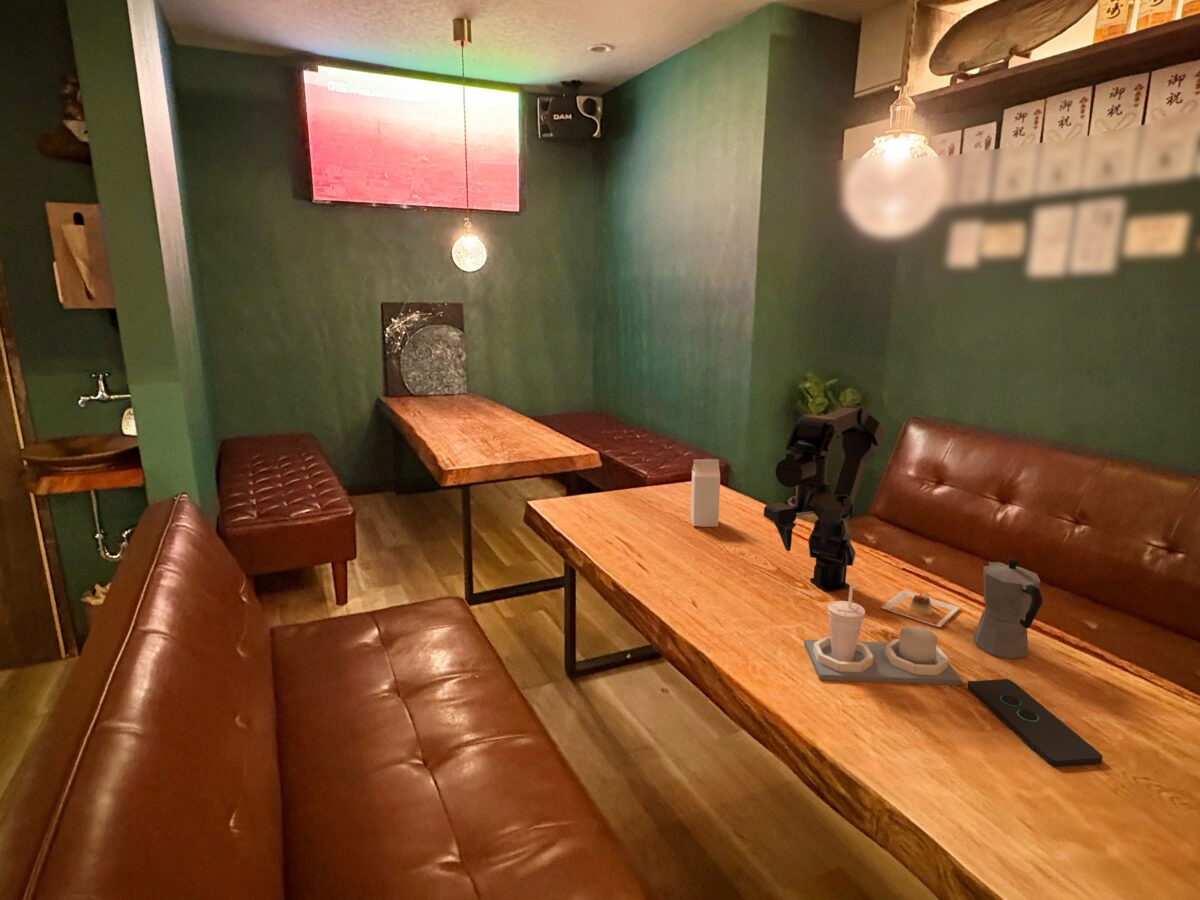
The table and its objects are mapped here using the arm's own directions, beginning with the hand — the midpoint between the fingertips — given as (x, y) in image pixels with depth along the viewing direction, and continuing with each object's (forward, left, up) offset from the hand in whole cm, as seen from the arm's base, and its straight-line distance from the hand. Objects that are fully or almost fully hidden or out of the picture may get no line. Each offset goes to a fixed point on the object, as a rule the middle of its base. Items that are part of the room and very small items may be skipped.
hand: (806, 547), depth 142 cm
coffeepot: (-24, +29, -13) cm, 40 cm away
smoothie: (+7, +22, -12) cm, 26 cm away
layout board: (+2, +25, -13) cm, 28 cm away
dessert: (-22, +11, -14) cm, 28 cm away
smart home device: (-8, +46, -14) cm, 49 cm away
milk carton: (-5, -53, -13) cm, 55 cm away
